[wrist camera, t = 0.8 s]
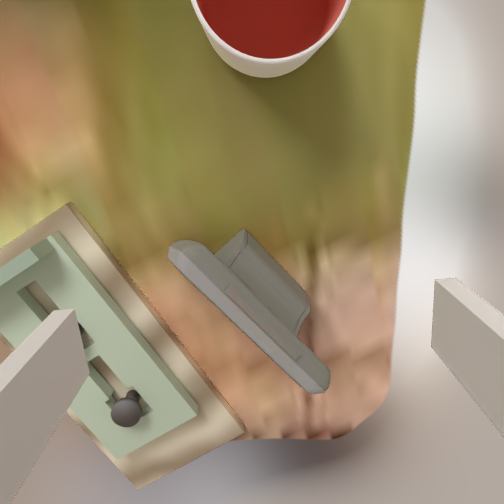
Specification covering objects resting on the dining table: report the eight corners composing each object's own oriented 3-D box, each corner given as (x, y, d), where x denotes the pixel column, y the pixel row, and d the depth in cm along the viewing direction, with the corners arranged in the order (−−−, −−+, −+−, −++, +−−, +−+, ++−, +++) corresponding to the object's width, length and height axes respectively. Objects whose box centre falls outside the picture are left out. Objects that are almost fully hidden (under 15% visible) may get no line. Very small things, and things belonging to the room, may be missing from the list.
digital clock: (161, 240, 40) (131, 281, 30) (242, 190, 38) (240, 215, 28) (251, 369, 44) (252, 443, 34) (328, 327, 42) (353, 392, 32)
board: (-43, 279, 41) (-75, 297, 37) (71, 201, 38) (50, 211, 34) (140, 480, 48) (130, 513, 44) (244, 424, 46) (244, 454, 42)
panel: (-26, 287, 39) (-59, 307, 35) (57, 230, 38) (33, 244, 33) (120, 449, 45) (107, 483, 41) (198, 406, 43) (193, 437, 39)
